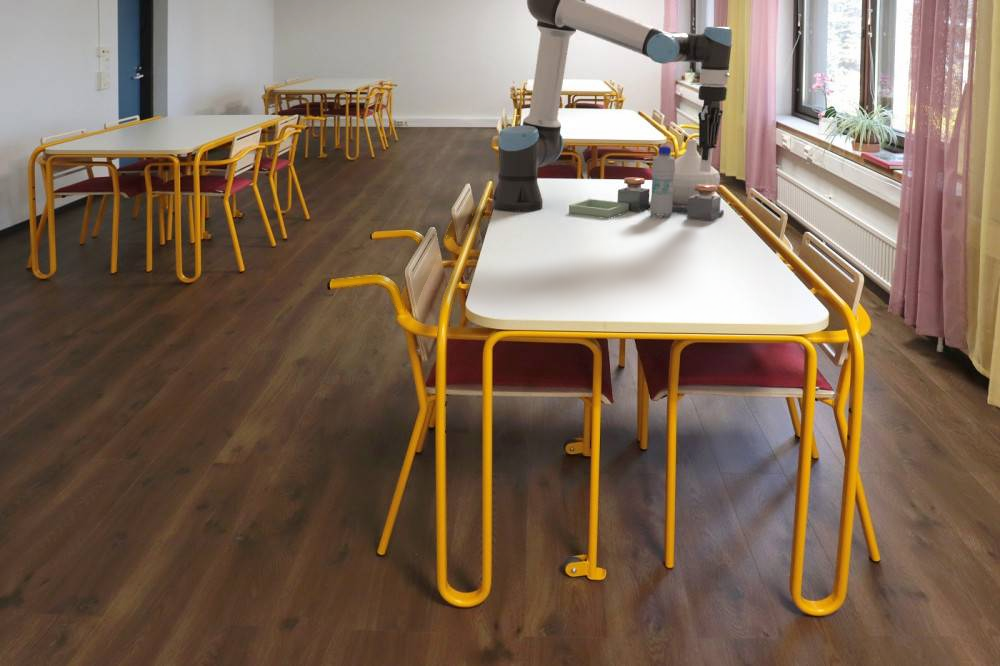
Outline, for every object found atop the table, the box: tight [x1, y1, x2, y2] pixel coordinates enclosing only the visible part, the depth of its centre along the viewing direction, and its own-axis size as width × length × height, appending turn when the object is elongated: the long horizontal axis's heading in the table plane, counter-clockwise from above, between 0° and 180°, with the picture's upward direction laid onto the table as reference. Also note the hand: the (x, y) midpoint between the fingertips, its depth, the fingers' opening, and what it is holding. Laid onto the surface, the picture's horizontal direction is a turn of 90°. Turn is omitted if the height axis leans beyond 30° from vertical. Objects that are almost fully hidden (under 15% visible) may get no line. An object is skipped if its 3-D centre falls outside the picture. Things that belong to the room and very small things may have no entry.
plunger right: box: [695, 184, 717, 199], centre depth 277 cm, size 6×6×8 cm
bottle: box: [649, 145, 676, 219], centre depth 277 cm, size 7×7×20 cm
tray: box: [568, 198, 629, 219], centre depth 284 cm, size 13×13×2 cm
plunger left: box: [623, 177, 646, 191], centre depth 288 cm, size 6×6×8 cm
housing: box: [617, 186, 724, 222], centre depth 285 cm, size 29×10×6 cm, turn 58°
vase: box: [672, 139, 721, 206], centre depth 299 cm, size 18×18×19 cm
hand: (705, 171), depth 275 cm, fingers closed
